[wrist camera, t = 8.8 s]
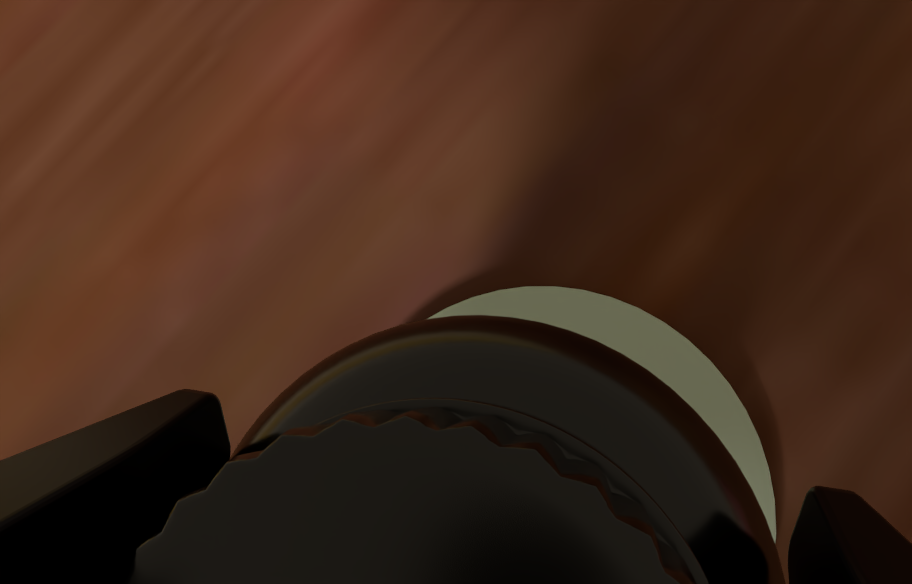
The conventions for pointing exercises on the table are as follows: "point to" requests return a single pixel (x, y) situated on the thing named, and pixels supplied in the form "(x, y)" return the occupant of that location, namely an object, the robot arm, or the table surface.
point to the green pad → (643, 362)
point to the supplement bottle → (471, 473)
